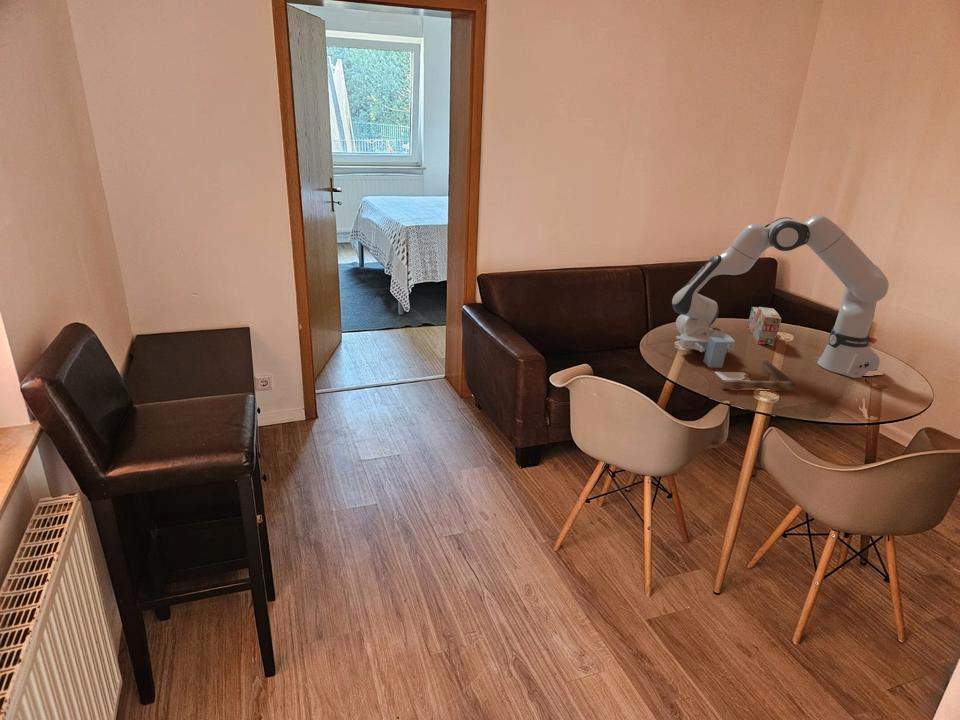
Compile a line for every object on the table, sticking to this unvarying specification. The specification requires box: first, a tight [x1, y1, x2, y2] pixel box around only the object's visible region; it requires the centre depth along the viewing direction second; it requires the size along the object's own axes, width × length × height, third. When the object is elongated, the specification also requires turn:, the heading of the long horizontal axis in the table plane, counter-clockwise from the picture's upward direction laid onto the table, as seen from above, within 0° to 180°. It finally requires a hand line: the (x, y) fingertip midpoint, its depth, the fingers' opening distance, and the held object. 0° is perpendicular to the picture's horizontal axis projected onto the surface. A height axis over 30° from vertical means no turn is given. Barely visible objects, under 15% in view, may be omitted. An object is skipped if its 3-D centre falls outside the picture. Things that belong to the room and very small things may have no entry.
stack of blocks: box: [747, 306, 782, 345], centre depth 252 cm, size 21×6×12 cm, turn 169°
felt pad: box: [714, 371, 747, 381], centre depth 212 cm, size 11×11×1 cm
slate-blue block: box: [703, 337, 729, 368], centre depth 221 cm, size 5×5×10 cm
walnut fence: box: [720, 359, 797, 392], centre depth 212 cm, size 26×19×3 cm
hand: (715, 350), depth 221 cm, fingers open, 8 cm apart
